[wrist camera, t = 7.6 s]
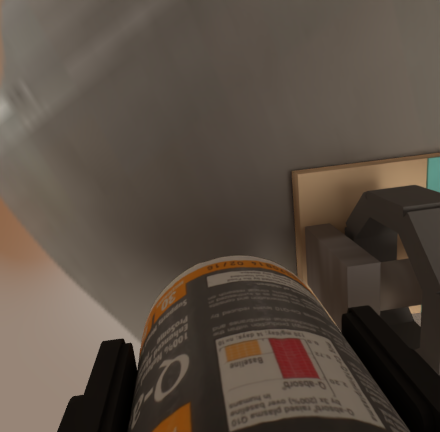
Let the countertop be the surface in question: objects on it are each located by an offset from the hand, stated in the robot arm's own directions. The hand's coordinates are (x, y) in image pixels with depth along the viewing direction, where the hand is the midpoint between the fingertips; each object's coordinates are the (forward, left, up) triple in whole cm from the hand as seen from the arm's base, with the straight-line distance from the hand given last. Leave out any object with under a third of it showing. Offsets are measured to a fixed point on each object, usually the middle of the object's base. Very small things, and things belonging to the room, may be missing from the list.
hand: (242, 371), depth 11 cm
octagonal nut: (0, +7, -7) cm, 10 cm away
